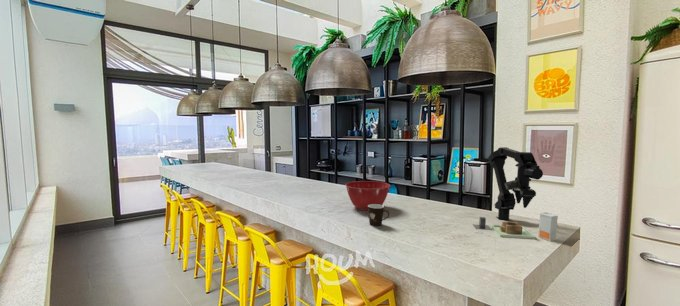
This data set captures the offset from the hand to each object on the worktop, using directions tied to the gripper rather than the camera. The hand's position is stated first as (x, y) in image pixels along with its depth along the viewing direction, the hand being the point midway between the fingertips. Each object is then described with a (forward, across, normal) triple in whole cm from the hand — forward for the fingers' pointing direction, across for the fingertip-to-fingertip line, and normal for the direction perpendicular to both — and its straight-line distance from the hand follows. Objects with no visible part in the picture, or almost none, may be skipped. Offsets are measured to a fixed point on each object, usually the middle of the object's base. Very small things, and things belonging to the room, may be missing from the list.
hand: (521, 205), depth 169 cm
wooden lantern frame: (+11, +11, -8) cm, 17 cm away
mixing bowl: (+12, -23, -83) cm, 87 cm away
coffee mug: (+12, +12, -75) cm, 77 cm away
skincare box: (+12, +16, +6) cm, 21 cm away
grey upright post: (+12, +5, -20) cm, 24 cm away
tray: (+12, +11, -8) cm, 18 cm away
